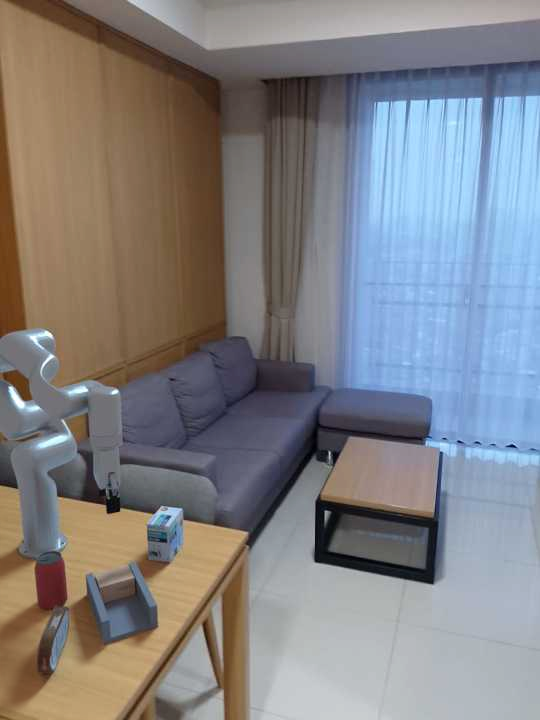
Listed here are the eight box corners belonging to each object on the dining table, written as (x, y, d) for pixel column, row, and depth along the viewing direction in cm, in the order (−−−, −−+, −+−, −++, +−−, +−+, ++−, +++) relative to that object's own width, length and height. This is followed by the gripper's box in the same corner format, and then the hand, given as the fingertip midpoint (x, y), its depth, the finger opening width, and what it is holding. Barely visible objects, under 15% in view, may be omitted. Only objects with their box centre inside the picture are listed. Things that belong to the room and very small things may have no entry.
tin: (58, 630, 124) (55, 597, 122) (73, 629, 124) (70, 596, 122) (36, 684, 109) (33, 647, 107) (53, 683, 110) (49, 646, 108)
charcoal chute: (87, 594, 136) (85, 574, 135) (136, 580, 141) (135, 561, 140) (103, 644, 120) (101, 622, 118) (158, 626, 125) (157, 605, 124)
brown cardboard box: (95, 590, 136) (94, 573, 135) (129, 580, 139) (128, 564, 138) (100, 604, 131) (99, 587, 130) (135, 594, 134) (134, 577, 133)
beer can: (37, 597, 135) (33, 553, 132) (66, 590, 137) (62, 547, 135) (38, 614, 129) (33, 568, 126) (68, 607, 131) (64, 561, 129)
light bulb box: (171, 563, 149) (169, 526, 146) (147, 560, 150) (145, 524, 148) (184, 542, 159) (183, 507, 157) (162, 539, 160) (161, 505, 158)
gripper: (84, 428, 140) (88, 491, 144) (96, 454, 125) (100, 523, 129) (114, 424, 143) (117, 486, 147) (130, 448, 128) (132, 516, 132)
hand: (109, 503), depth 138 cm, fingers open, 9 cm apart
